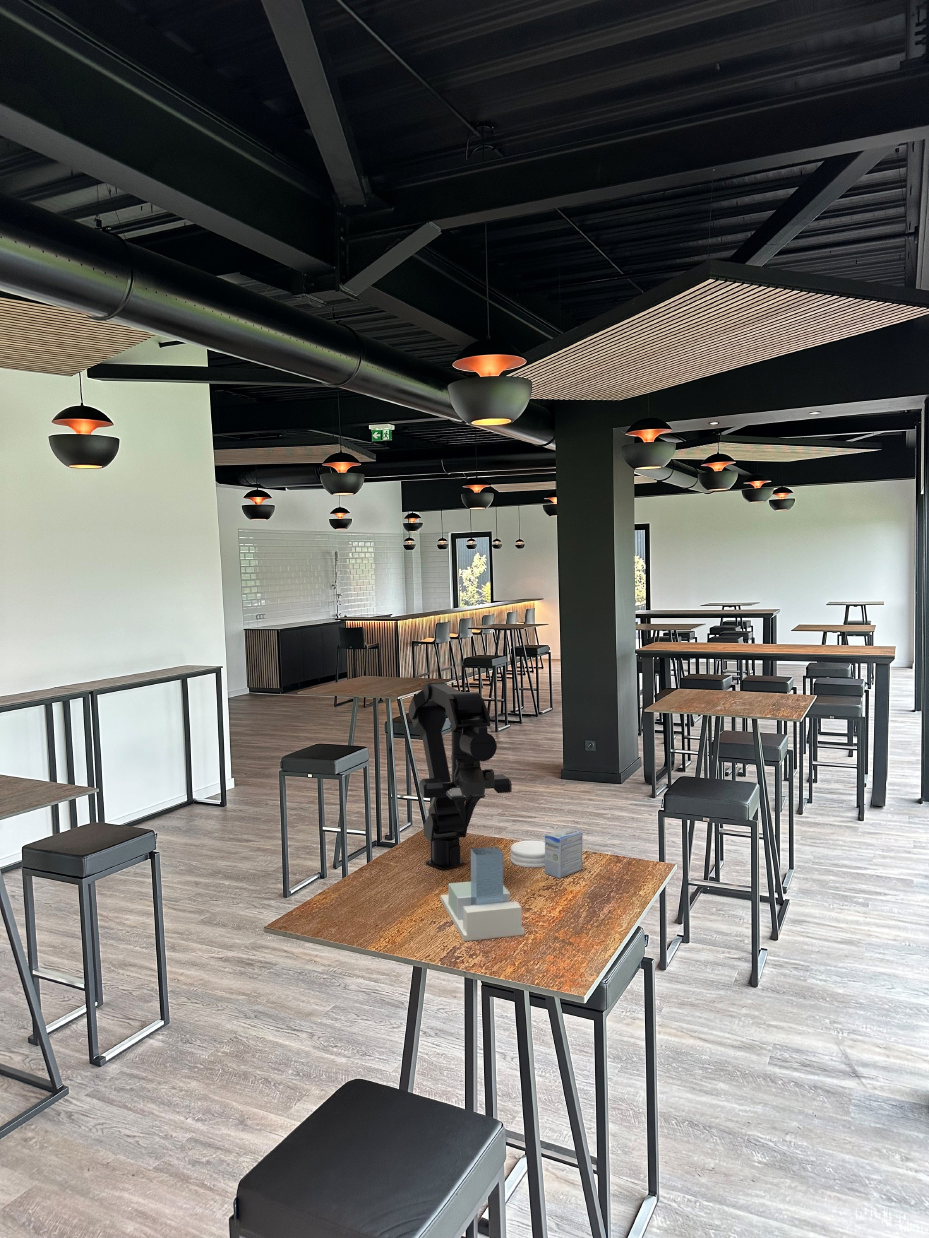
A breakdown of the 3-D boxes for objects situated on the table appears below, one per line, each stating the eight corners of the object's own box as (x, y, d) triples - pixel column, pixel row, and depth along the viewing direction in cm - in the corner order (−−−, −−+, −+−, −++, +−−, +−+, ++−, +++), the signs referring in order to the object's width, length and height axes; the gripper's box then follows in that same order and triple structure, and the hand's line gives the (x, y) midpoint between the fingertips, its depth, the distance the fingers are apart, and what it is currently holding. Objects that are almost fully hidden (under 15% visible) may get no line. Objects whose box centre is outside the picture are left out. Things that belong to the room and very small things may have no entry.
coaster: (506, 866, 184) (506, 851, 183) (515, 853, 193) (515, 838, 193) (550, 870, 181) (550, 854, 181) (557, 856, 190) (557, 841, 190)
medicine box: (566, 865, 183) (566, 827, 183) (583, 870, 180) (583, 831, 180) (544, 874, 178) (544, 834, 178) (560, 879, 175) (560, 838, 174)
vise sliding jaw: (448, 903, 158) (448, 883, 158) (498, 898, 160) (498, 878, 160) (458, 919, 150) (457, 898, 150) (510, 914, 153) (510, 893, 153)
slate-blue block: (471, 918, 151) (470, 848, 151) (497, 915, 152) (497, 846, 152) (476, 927, 147) (476, 855, 147) (503, 924, 148) (503, 852, 148)
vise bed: (440, 899, 163) (440, 875, 163) (493, 894, 166) (493, 870, 165) (464, 941, 143) (464, 912, 143) (524, 934, 146) (524, 906, 146)
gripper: (428, 762, 162) (429, 840, 162) (519, 757, 166) (519, 833, 166) (418, 752, 172) (419, 825, 173) (503, 747, 177) (504, 819, 177)
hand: (465, 826), depth 172 cm, fingers closed
